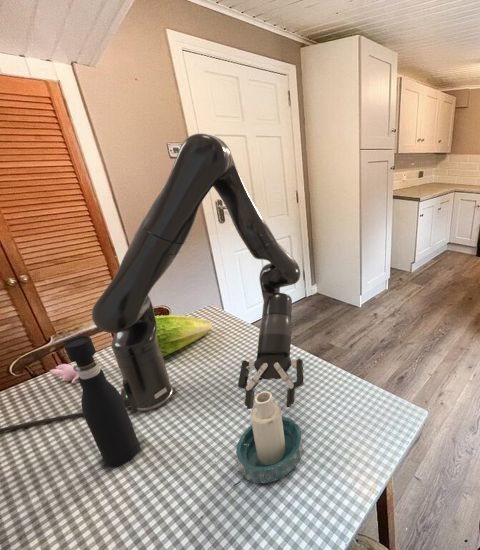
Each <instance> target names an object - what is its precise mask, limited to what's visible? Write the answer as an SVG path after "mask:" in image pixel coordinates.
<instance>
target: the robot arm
mask: <svg viewBox="0 0 480 550" xmlns="http://www.w3.org/2000/svg"><path fill="white" fill-rule="evenodd" d="M212 188H213V189H214V190H215V191H216V192H217V194H218V196H219V198H220V199H221V201H222V202H223V204H224V206H225V207H226V210H227V212H228V215H229V217H230V219H231V221H232V224H233V226H234V227H235V228H234V229H235V230H236V232H237V234H238V236H239V237H240V239H241V241H242V242H243V244H244V245H245V247H246V248H247V250H248V251H249V254H250V255H251V256H252V257H253V258H254V259H256V260H260V261H261V260H263V261H267V262H269V263H266V264H265V265H263V267H262V268H261V269H260V272H259V285H260V289H261V297H262V300H263V303H262V305H263V306H262V315H261V320H260V325H259V333H258V341H257V342H258V343H257V352H256V358H255V360H254V361H248V360H244V359H243V360H242V362H241V366H240V371H239V377H238V382H237V387H238V388H239V389H243V390H245V397H244V398H245V399H244V406H245V407H246V410H253V409H254V404H255V393H256V391H255V389H256V388H257V386H258V385H259V384H261V382H262V381H263V380H265V381H269V380H281V379H282V380H283V382H284V383H285V385H286V386H287V387H288V389H287V390H286V404H285V405H286V408H292V405H294V404H295V396H296V395H295V394H296V389H297V388H299V387H303V386H304V381H305V380H304V361H303V359H302V358H298V359H292V358H291V345H292V336H293V335H292V334H293V331H292V330H293V329H292V325H293V324H292V313H293V312H292V310H293V300H292V297H291V296H290V295H289V294H288V293H284V292H281V288H284V287H288V286H292V285H295V284H297V283H298V282H299V280H300V278H301V269H300V266H299V263H298V262H297V261H296V259H294V257H293V256H292V255H291V254H290V253H289V252H288V251H287V250H286V249H285V248H284V247H283V246H282V245H281V244H280V243H279V242H278V241H277V239H276V237H275V236H274V234H273V233H272V231H271V229H270V227H269V226H268V224H267V222H266V220H265V219H264V217H263V216H262V214H261V212H260V211H259V209H258V208H257V206H256V204H255V202H254V201H253V199H252V197H251V195H250V194H249V192H248V190H247V188H246V185H244V182H243V180H242V178H241V175H240V173H239V171H238V168H237V166H236V163H235V161H234V158H233V156H232V151H231V149H230V147H229V145H227V144H226V143H225V142H224V141H223V140H222V139H221V138H219V137H217V136H215V135H212V134H209V133H194V134H191V135H189V136H188V137H186V138H185V140H183V142H182V143H181V145H180V147H179V149H178V152H177V154H176V158H175V160H174V163H173V165H172V168H171V170H170V173H169V176H168V177H167V179H166V182H165V184H164V186H163V187H162V189H161V191H160V192H159V194H158V195H157V197H156V198H155V199H154V201H153V203H152V205H150V207H149V209H148V211H147V213H146V214H145V216H144V217H143V218H142V221H141V222H140V225H139V226H138V227H137V230H136V232H135V233H134V234H133V238H132V240H131V242H130V244H129V245H128V247H127V250H126V251H125V254H124V256H123V257H122V260H121V263H120V265H119V267H118V269H117V271H116V273H115V275H114V277H113V278H112V280H111V281H110V283H109V284H108V285H107V287H106V288H105V290H104V291H103V292H102V294H101V295H100V297H99V298H97V300H96V301H95V303H94V304H93V305H92V309H91V319H92V322H93V324H94V325H95V326H96V328H98V329H99V330H100V331H102V332H104V333H107V334H108V333H109V334H113V337H112V340H111V349H112V353H113V355H114V358H115V360H116V363H117V367H118V369H119V371H120V375H121V377H122V387H123V388H121V390H120V395H121V396H122V398H123V401H124V404H125V406H126V408H130V409H131V412H132V413H136V412H149V411H153V410H155V409H157V408H159V407H161V406H163V405H165V404H166V403H167V402H168V401H169V400H170V399H171V398H172V397H173V395H174V389H173V387H172V384H171V380H170V377H169V374H168V371H167V367H166V363H165V359H164V357H163V356H162V353H161V349H160V346H159V343H158V339H157V323H156V318H155V316H156V315H155V310H154V306H153V303H152V300H151V297H150V296H149V294H150V292H151V291H152V289H153V288H154V286H155V285H156V284H157V282H158V281H159V280H160V279H161V278H162V277H163V275H164V274H166V272H167V271H168V270H169V269H170V268H171V266H172V265H173V264H174V262H175V261H176V259H177V258H178V257H179V255H180V254H181V252H182V250H183V248H184V247H185V245H186V243H187V241H188V239H189V237H190V236H191V233H192V230H193V227H194V224H195V223H196V220H197V219H196V218H197V215H198V211H199V209H200V206H201V205H202V203H203V202H204V199H205V198H206V197H207V195H208V194H209V192H210V191H211V189H212ZM292 366H293V369H295V370H296V381H293V379H292V377H291V376H290V375H289V373H288V370H289V369H290V368H291V367H292ZM253 368H255V370H256V372H255V374H254V375H253V376H252V377H251V380H250V381H249V382H248V380H249V374H250V372H251V371H253ZM78 417H84V415H83V412H76V413H70V414H66V415H60V416H55V417H50V418H45V419H40V420H34V421H29V422H25V423H20V424H15V425H10V426H6V427H1V428H0V433H3V432H9V431H12V430H17V429H22V428H26V427H32V426H36V425H37V426H38V425H40V424H46V423H52V422H57V421H58V422H59V421H62V420H68V419H72V418H78Z"/></svg>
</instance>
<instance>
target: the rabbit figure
mask: <svg viewBox="0 0 480 550" xmlns="http://www.w3.org/2000/svg"><path fill="white" fill-rule="evenodd" d="M77 369H78V367H77V364H74V365H71V364H68V363H62V364H59V365H57V366H55V368H53V369H49V372H50V373H51V374H53V375H55V376H59V377H61V379H62V380H63V381H64V382H71V384H74V383H75V381H76V380H78V378H79V376H78V375H79V374H78V373H77Z"/></svg>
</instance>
